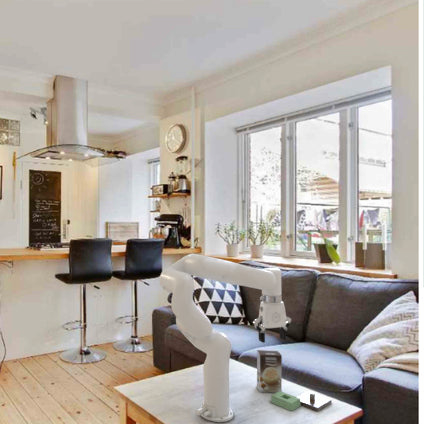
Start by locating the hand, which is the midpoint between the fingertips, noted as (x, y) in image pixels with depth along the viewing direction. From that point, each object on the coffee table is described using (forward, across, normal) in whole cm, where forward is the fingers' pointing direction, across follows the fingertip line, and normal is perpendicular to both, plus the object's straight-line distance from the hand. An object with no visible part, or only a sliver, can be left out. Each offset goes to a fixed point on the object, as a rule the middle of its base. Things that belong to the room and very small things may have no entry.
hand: (272, 340), depth 171 cm
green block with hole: (+25, +3, -4) cm, 25 cm away
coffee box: (+25, +5, +10) cm, 27 cm away
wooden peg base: (+25, +14, -6) cm, 29 cm away
